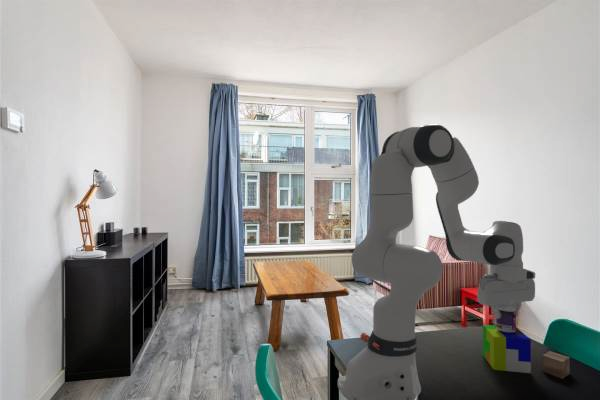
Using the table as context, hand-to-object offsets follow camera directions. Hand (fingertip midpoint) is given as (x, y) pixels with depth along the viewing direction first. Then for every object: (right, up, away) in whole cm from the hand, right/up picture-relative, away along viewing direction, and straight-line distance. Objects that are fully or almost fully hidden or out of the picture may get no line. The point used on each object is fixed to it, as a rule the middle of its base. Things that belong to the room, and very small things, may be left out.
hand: (506, 317), depth 107 cm
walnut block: (+11, -15, -6) cm, 20 cm away
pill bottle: (0, -4, 0) cm, 4 cm away
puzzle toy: (0, -15, 0) cm, 15 cm away
